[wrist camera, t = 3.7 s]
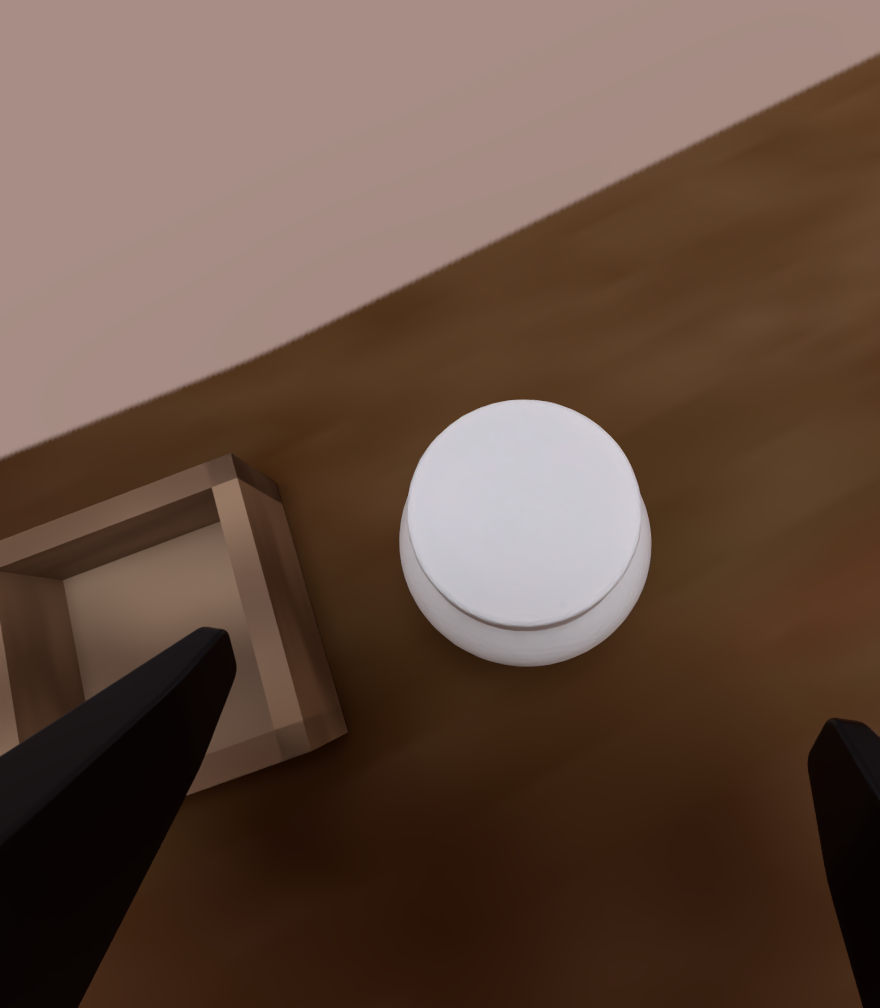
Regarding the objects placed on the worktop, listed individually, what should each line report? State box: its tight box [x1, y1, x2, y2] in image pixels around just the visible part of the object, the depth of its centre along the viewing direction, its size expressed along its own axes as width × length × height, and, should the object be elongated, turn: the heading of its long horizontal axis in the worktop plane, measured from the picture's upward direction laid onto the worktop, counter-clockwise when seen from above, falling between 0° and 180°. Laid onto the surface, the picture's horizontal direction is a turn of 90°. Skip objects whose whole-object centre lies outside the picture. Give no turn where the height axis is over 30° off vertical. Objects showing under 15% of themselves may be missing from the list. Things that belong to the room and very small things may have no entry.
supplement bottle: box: [399, 400, 651, 666], centre depth 15 cm, size 5×5×10 cm
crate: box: [0, 453, 348, 796], centre depth 19 cm, size 9×16×4 cm, turn 109°
